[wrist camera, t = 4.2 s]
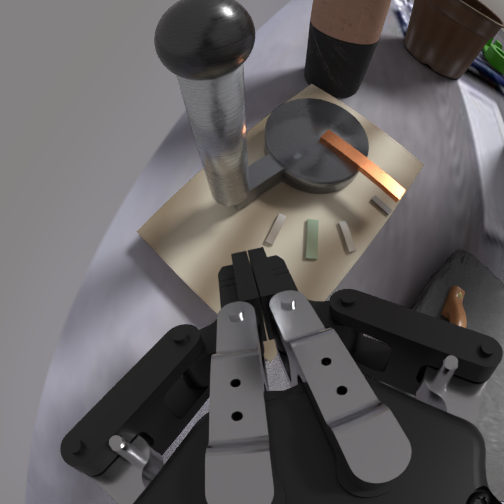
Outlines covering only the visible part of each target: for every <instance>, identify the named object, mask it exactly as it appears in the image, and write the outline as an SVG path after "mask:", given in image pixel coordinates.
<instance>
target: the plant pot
mask: <svg viewBox="0 0 504 504" xmlns="http://www.w3.org/2000/svg"><path fill="white" fill-rule="evenodd" d="M501 28H504V22H503V21H502V20H501V19H500V18H499V17H498V16H497V15H496V14H494V13H493V12H492V11H491V10H490V9H489V8H488V7H486V6H485V5H484V4H483V3H481V2H480V1H478V0H414V4H413V9H412V13H411V17H410V21H409V25H408V29H407V33H406V36H405V40H404V44H405V46H406V48H407V49H408V51H409V52H410V53H411V54H412V55H413V56H414V57H415V58H416V59H417V60H419V61H420V62H421V63H423V64H428V65H429V66H430V67H431V68H432V70H433V71H435V72H437V73H439V74H441V75H443V76H446V77H449V78H453V79H458V78H460V77H461V76H462V75H463V74H464V72H465V71H466V70H467V68H468V67H469V66H470V65H471V63H472V62H473V61H474V59H475V58H476V57H477V56H478V54H479V53H480V52H481V50H482V49H483V48H484V46H485V45H486V44H487V42H488V41H489V40H490V39H492V38H494V36H495V35H496V34H497V32H498V31H499V30H500V29H501Z"/></svg>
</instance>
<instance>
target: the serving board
mask: <svg viewBox="0 0 504 504" xmlns="http://www.w3.org/2000/svg"><path fill="white" fill-rule="evenodd" d="M411 309H412V310H415V311H418V312H421V313H424V314H427V315H429V316H432V317H435V318H438V319H441V320H444V321H447V322H450V323H453V324H456V325H459V326H462V327H464V328H467V329H470V330H473V331H476V332H479V333H482V334H485V335H488V336H490V337H492V338H494V339H495V340H497V341H498V342H499V344H500V345H501V347H502V351H503V357H502V360H501V362H500V363H499V365H498V366H497V368H496V370H495V371H494V373H493V374H492V376H491V377H490V378H489V380H488V381H487V383H486V385H485V389H484V392H483V396H482V400H481V403H480V407H479V410H478V413H477V416H476V419H475V422H474V425H475V426H476V427H477V428H478V430H479V431H480V432H481V434H482V436H483V438H484V441H485V446H486V477H487V482H488V486H489V489H490V491H491V492H492V494H493V495H494V496H495V497H496V498H497V499H498V500H499V501H500V502H504V284H503V283H502V281H501V280H500V279H498V278H497V277H495V275H494V274H493V273H492V272H491V271H490V270H489V269H488V268H487V267H485V266H484V265H483V264H481V263H480V262H479V261H478V260H477V259H476V258H475V257H474V256H473V255H471V254H470V253H468V252H466V251H464V250H457V251H455V252H454V253H453V254H452V255H451V256H450V257H449V258H448V259H447V261H446V262H445V264H444V265H443V266H442V267H441V269H440V270H439V271H438V272H437V273H436V274H435V275H433V276H432V277H431V279H430V281H429V283H428V284H427V285H426V286H425V288H424V289H423V290H422V292H421V294H420V296H419V298H418V300H417V302H416V303H415V305H414V306H413V307H412V308H411ZM376 380H377V379H376ZM377 381H379V380H377ZM379 382H381V381H379ZM381 383H383V384H385V385H387V386H389V387H392V388H394V389H396V390H398V391H400V392H402V393H405V394H407V395H409V396H411V397H413V398H416V396H415V395H412V394H410V393H407V392H405V391H402V390H400V389H398V388H395V387H393V386H391V385H388V384H386V383H384V382H381ZM416 399H417V398H416Z"/></svg>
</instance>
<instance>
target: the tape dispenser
mask: <svg viewBox="0 0 504 504" xmlns="http://www.w3.org/2000/svg"><path fill="white" fill-rule="evenodd" d="M492 40H493V38H492V39H490V40H489V41H488V42H487V44H486V45H485V46H484V48H483V49H482V50H483V52H484V56H485V58H486V59H487V61H488V62H489V63H490V64H491V65H492V66H493V67H494V68H496V69H497V70H498V71H499V72H501V73H503V74H504V52H503V51H502V45H501V43H500V42H499V41H498V40H496V41H495V42H494V43H493V44H492V43H491V42H492Z"/></svg>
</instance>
